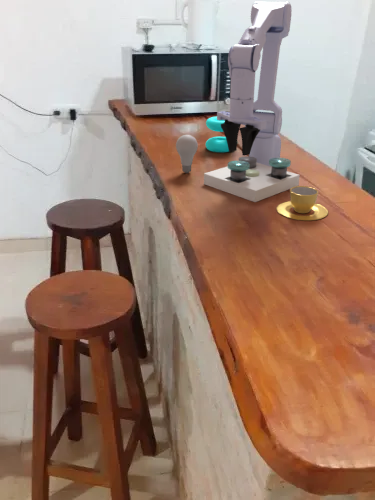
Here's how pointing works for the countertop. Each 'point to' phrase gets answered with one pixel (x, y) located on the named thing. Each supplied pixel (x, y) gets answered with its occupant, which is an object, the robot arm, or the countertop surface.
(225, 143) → the donuts
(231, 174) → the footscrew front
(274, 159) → the disc
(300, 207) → the cup
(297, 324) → the countertop surface
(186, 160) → the lightbulb
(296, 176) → the instrument base
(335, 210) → the countertop surface
